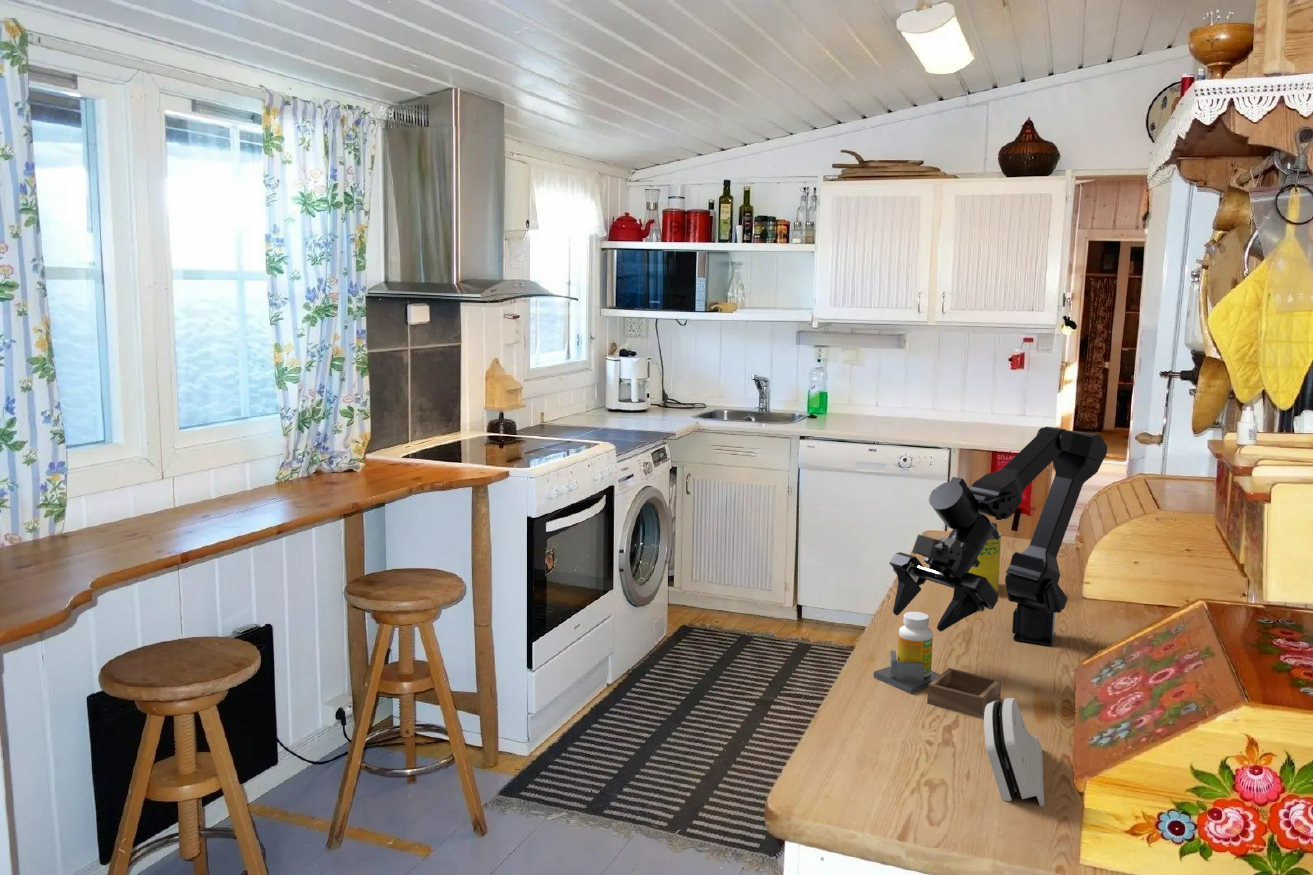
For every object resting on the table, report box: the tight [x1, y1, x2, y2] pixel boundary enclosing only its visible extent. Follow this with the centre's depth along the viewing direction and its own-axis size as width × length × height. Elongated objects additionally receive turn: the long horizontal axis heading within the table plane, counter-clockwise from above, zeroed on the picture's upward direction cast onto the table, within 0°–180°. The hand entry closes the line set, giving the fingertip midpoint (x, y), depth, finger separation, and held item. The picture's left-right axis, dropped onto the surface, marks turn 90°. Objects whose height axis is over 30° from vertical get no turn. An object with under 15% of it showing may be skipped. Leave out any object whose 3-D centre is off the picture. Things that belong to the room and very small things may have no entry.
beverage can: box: [969, 531, 1002, 593], centre depth 212 cm, size 9×9×12 cm
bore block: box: [926, 667, 1002, 718], centre depth 158 cm, size 8×8×3 cm
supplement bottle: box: [897, 611, 934, 677], centre depth 166 cm, size 5×5×10 cm
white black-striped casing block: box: [983, 697, 1045, 807], centre depth 136 cm, size 17×5×10 cm, turn 161°
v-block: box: [873, 650, 942, 695], centre depth 166 cm, size 8×8×4 cm
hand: (916, 621), depth 165 cm, fingers open, 9 cm apart
